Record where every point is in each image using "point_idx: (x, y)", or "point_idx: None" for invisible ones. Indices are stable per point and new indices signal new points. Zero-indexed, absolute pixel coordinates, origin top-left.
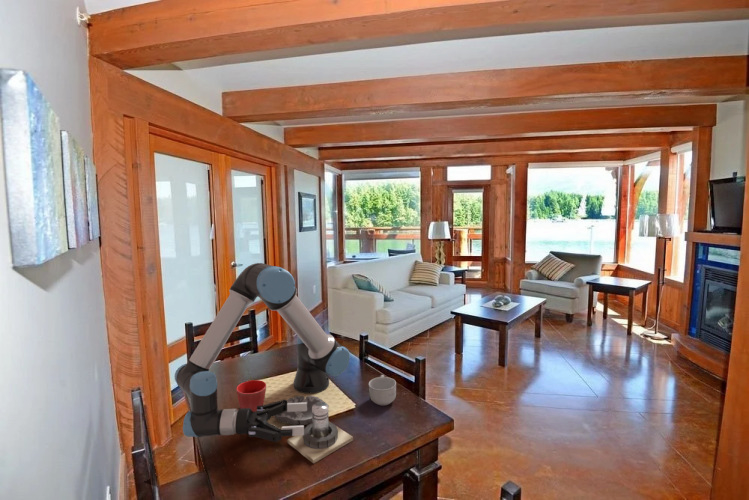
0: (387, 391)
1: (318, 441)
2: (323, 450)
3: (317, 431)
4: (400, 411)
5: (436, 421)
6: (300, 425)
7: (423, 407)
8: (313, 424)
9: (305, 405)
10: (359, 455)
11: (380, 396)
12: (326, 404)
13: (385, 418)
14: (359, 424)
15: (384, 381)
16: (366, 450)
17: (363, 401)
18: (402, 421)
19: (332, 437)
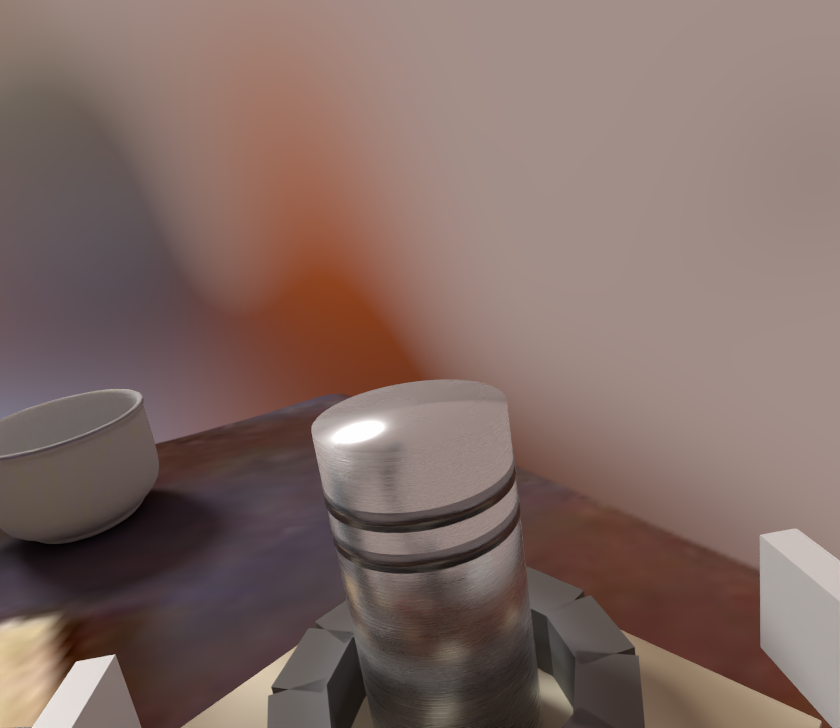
0: (143, 412)
1: (621, 657)
2: (640, 673)
3: (532, 636)
4: (223, 465)
5: (330, 403)
6: (796, 564)
7: (228, 428)
8: (500, 618)
9: (114, 702)
10: (581, 525)
11: (134, 453)
12: (370, 394)
13: (258, 493)
14: (275, 567)
15: (8, 445)
16: (529, 510)
17: (17, 587)
18: (304, 453)
19: (537, 573)
